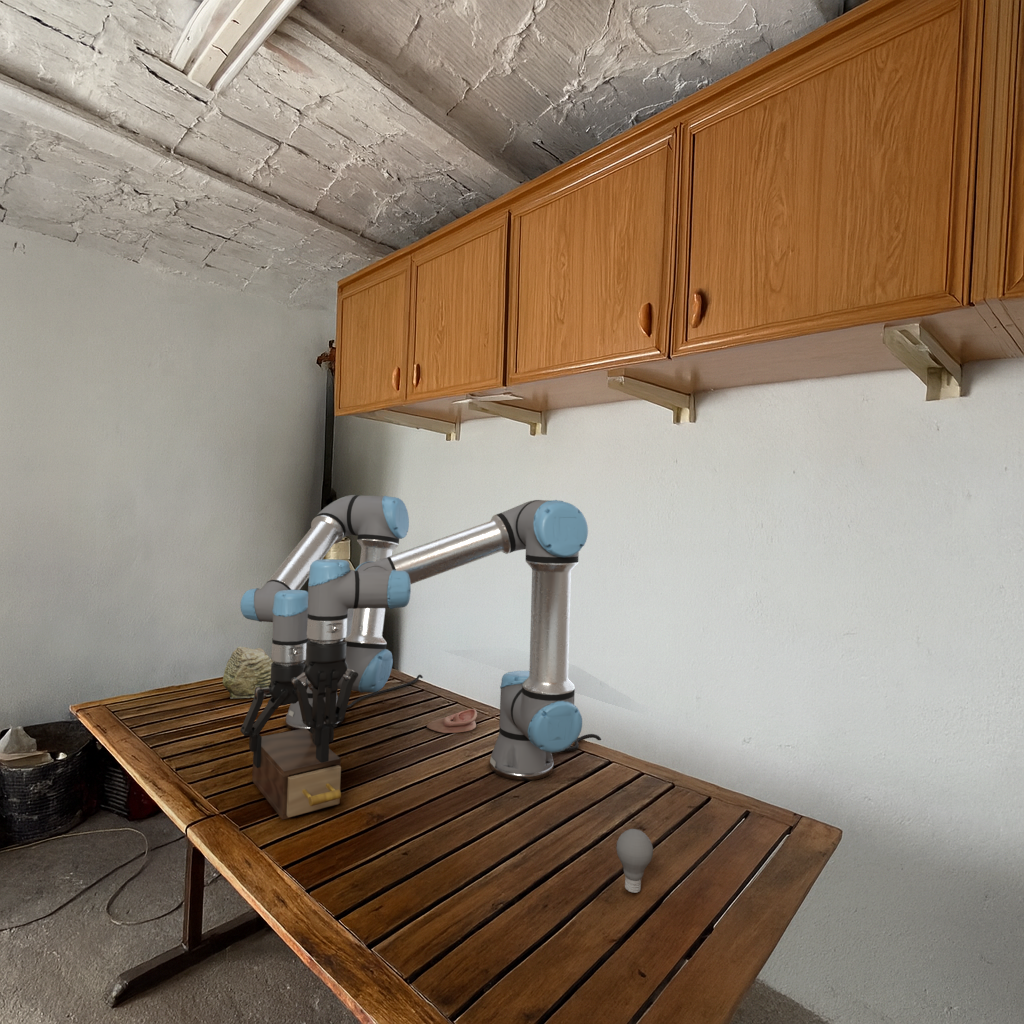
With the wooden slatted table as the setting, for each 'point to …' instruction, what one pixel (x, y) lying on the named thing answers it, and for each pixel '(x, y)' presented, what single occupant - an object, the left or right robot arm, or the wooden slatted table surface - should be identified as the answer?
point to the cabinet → (286, 765)
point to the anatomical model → (455, 722)
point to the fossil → (247, 672)
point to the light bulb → (634, 857)
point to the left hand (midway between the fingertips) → (285, 759)
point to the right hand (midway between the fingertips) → (322, 759)
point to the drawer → (313, 790)
